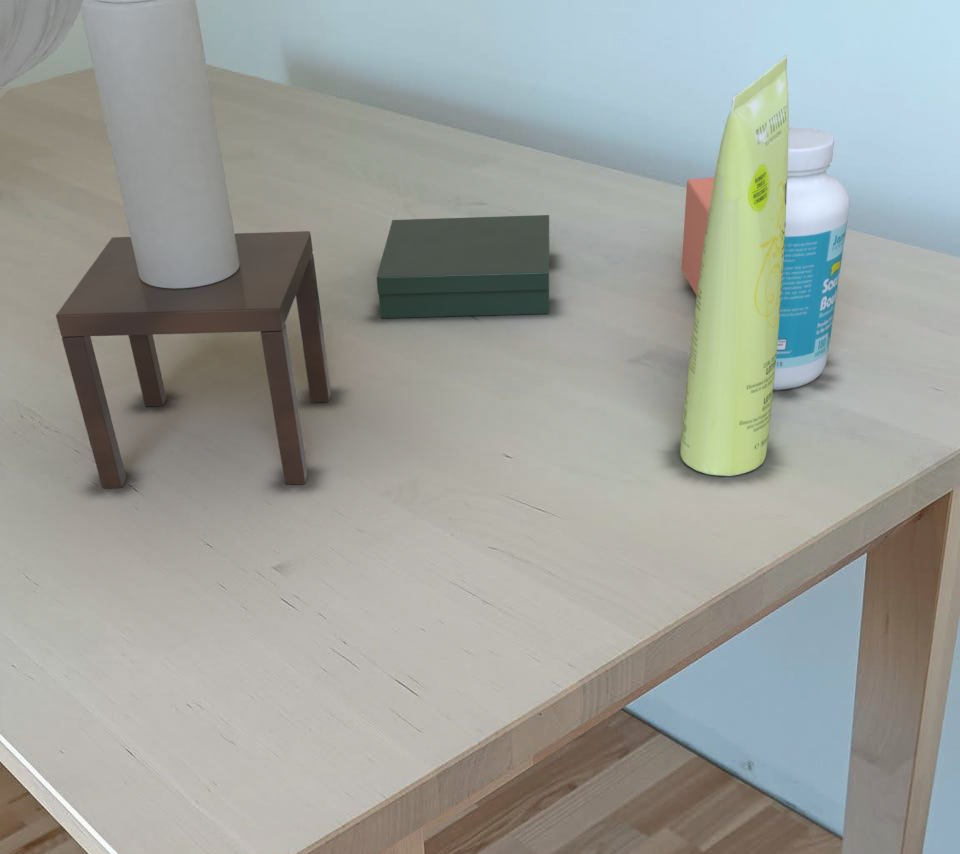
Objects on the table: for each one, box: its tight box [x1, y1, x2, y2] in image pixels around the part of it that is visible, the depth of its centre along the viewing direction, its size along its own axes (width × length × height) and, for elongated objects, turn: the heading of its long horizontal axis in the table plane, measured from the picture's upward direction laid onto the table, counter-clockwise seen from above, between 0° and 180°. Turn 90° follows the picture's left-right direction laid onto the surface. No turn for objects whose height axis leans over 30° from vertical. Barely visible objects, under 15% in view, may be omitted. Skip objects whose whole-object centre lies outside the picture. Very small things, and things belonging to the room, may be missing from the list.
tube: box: [679, 54, 790, 477], centre depth 67 cm, size 6×5×20 cm
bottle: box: [80, 0, 240, 289], centre depth 66 cm, size 6×6×16 cm
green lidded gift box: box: [376, 214, 550, 319], centre depth 93 cm, size 12×12×3 cm
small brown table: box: [55, 230, 332, 489], centre depth 75 cm, size 12×12×10 cm
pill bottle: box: [773, 127, 851, 391], centre depth 77 cm, size 8×7×14 cm
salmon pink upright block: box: [681, 176, 715, 297], centre depth 88 cm, size 8×12×8 cm, turn 5°
